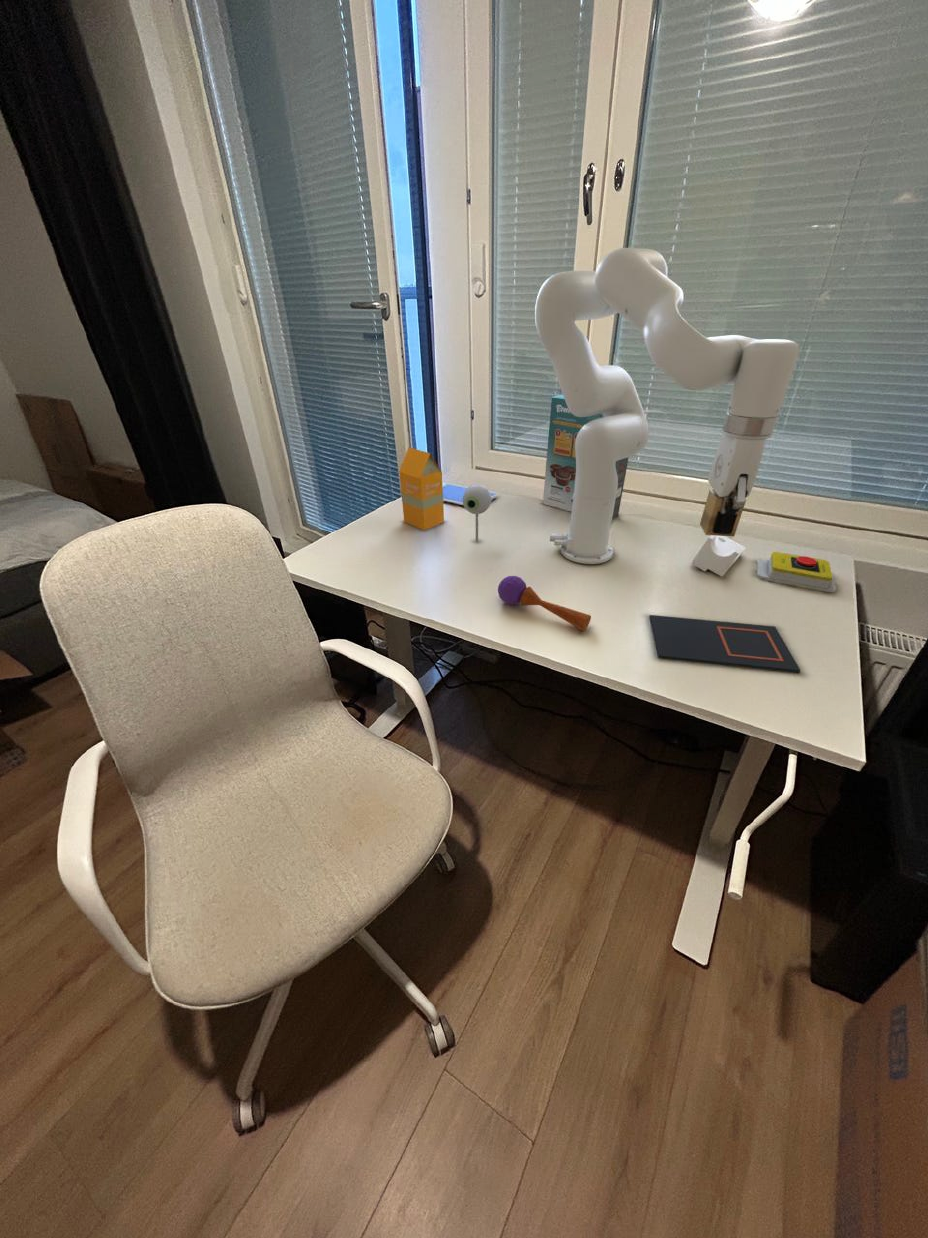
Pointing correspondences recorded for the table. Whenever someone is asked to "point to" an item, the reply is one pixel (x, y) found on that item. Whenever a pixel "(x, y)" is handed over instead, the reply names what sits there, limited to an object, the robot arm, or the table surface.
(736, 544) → the bracket
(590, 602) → the table surface
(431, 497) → the orange juice
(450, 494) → the tablet
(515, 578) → the kendama
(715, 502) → the piece
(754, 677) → the table surface
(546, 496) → the cake mix box
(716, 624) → the desk mat
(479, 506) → the eyeball on stand
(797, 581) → the emergency button
